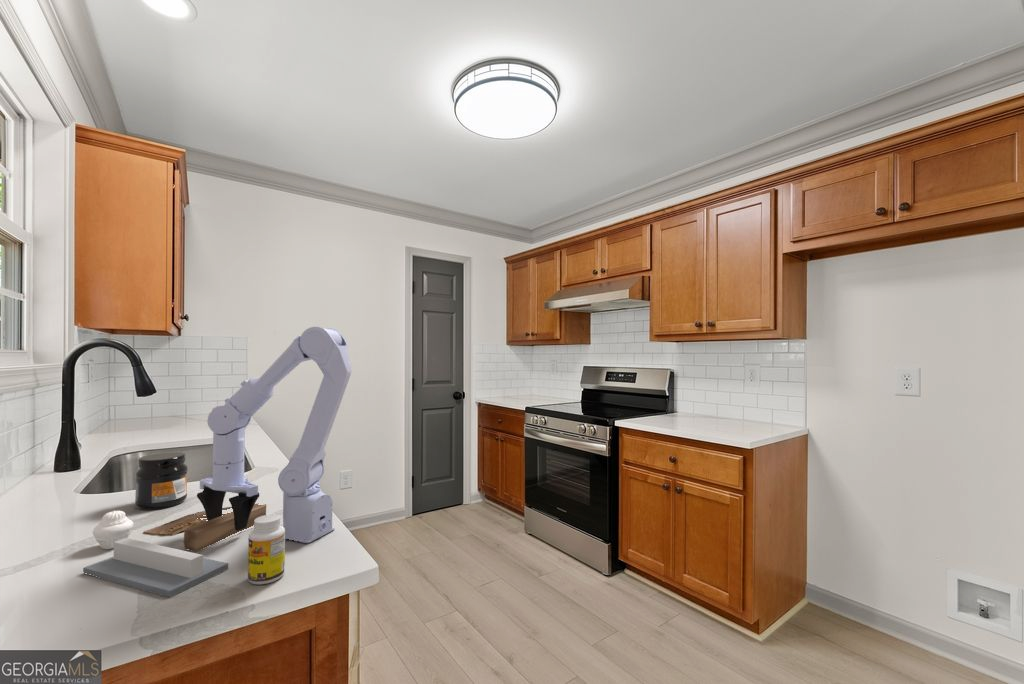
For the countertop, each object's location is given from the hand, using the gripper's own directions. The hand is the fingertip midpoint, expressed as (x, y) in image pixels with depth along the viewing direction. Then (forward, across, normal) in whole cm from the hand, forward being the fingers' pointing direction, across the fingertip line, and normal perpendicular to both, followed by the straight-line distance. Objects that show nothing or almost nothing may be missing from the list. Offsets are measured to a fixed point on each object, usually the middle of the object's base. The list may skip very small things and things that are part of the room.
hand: (227, 526), depth 97 cm
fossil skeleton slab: (+2, +12, -6) cm, 14 cm away
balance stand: (+2, -3, +16) cm, 16 cm away
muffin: (+2, +16, +12) cm, 20 cm away
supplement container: (+2, +33, -8) cm, 34 cm away
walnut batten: (+2, 0, 0) cm, 2 cm away
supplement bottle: (+2, -23, +11) cm, 26 cm away
